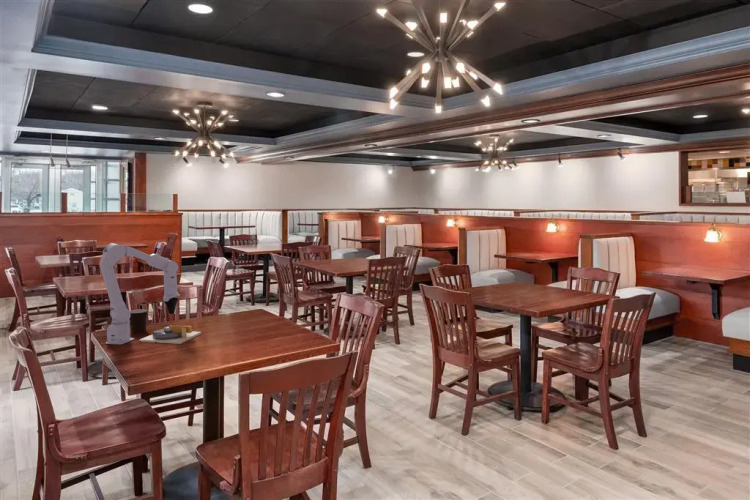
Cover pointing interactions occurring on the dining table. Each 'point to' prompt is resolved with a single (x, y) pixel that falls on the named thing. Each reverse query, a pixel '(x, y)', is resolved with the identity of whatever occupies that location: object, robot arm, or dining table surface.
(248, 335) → the dining table surface
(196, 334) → the base board
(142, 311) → the coffee mug
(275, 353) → the dining table surface
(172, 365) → the dining table surface
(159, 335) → the dial
